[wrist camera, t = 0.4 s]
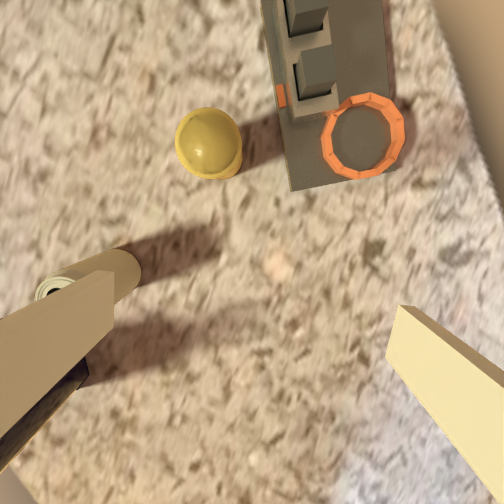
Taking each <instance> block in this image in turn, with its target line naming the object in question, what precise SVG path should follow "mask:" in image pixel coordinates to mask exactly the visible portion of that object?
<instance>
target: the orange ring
mask: <svg viewBox="0 0 504 504" xmlns="http://www.w3.org/2000/svg"><path fill="white" fill-rule="evenodd" d="M360 105H367V106H370V107H372V108H375V109H378V110H380V111H381V112H382V114H383V115H384V117H385V118H386V119H387V121H388V122H389V123H390V130H391V144H390V146H389V149H388V151H387V153H386V156H385V158H384V159H383V160H382V161H381V162H379V163H378V164H377V165H376V166H375V167H373V168H372V169H371V170H366V171H361V172H358V171H355V170H353V169H350V168H347V167H344V166H343V165H342V163H341V162H340V161H339V160H338V158H337V157H336V156H335V154H334V153H333V147H332V140H331V133H332V130H333V128H334V125H335V123H336V120H337V117H338V116H339V115H340V114H341V113H343V112H344V111H345V110H346V109H347V108H350V107H355V106H360ZM404 141H405V134H404V121H403V116H402V115H401V114H400V112H399V111H398V109H397V108H396V106H395V105H394V104H393V102H392V101H391V100H390V99H387V98H385V97H382V96H379V95H377V94H374V93H372V92H370V93H365V94H360V95H356V96H351V97H348V98H347V99H346V100H345V101H344V102H343V103H342V104H341V105H340V106H339V109H338V110H337V111H336V112H335V113H333V114H331V115H330V116H329V117H328V118H327V121H326V124H325V127H324V129H323V132H322V135H321V143H322V150H323V157H324V159H325V160H326V161H327V163H328V164H329V165H330V167H331V168H332V169H333V170H334V172H335V173H337V174H339V175H342V176H345V177H348V178H351V179H353V180H355V179H361V178H366V177H371V176H376V175H379V174H381V173H382V172H383V171H384V170H385V169H387V168H388V167H389V166H390V165H391V164H393V163H394V162H395V161H396V159H397V157H398V155H399V152H400V150H401V148H402V145H403V143H404Z"/></svg>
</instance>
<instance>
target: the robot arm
mask: <svg viewBox="0 0 504 504" xmlns="http://www.w3.org/2000/svg"><path fill="white" fill-rule="evenodd" d="M113 327H114V272H110V271H102V270H96V271H94V272H92V273H91V274H89V275H87V276H85V277H83V278H81V279H79V280H77V281H75V282H73V283H71V284H69V285H67V286H65V287H63V288H61V289H59V290H57V291H55V292H53V293H51V294H49V295H48V296H46V297H44V298H42V299H40V300H38V301H36V302H34V303H32V304H30V305H28V306H26V307H24V308H22V309H20V310H18V311H16V312H14V313H12V314H10V315H8V316H6V317H4V318H1V319H0V438H1V437H2V436H3V435H4V434H5V433H6V432H7V431H8V430H9V429H10V428H11V427H12V426H13V425H14V424H15V423H16V422H17V421H18V420H19V419H20V418H21V417H22V416H23V415H24V414H26V413H27V412H28V411H29V410H30V409H31V408H32V407H33V406H34V405H35V404H36V403H37V402H38V401H39V400H40V399H41V398H42V397H43V396H44V395H45V394H46V393H47V392H48V391H49V390H50V389H51V388H52V387H53V386H54V385H55V384H56V383H57V382H58V381H59V380H60V379H61V378H62V377H63V376H64V375H65V374H66V373H67V372H68V371H69V370H71V369H72V368H73V367H74V366H75V365H76V364H77V363H78V362H79V361H80V360H81V359H82V358H83V357H84V356H85V355H86V354H87V353H88V352H89V351H90V350H91V349H92V348H93V347H94V346H95V345H96V344H97V343H98V342H99V341H100V340H101V339H102V338H103V337H104V336H105V335H106V334H107V333H108V332H109V331H110V330H111V329H112V328H113ZM385 358H386V359H387V360H388V362H389V363H390V364H391V365H392V367H393V368H394V369H395V371H396V372H397V373H398V374H399V376H400V377H401V378H402V380H403V381H404V382H405V383H406V385H407V386H408V387H409V388H410V390H411V391H412V392H413V394H414V395H415V396H416V397H417V399H418V400H419V401H420V403H421V404H422V405H423V406H424V408H425V409H426V410H427V412H428V413H429V414H430V415H431V417H432V418H433V419H434V420H435V422H436V423H437V424H438V426H439V427H440V428H441V429H442V431H443V432H444V433H445V435H446V436H447V437H448V438H449V440H450V441H451V442H452V444H453V445H454V446H455V447H456V449H457V450H458V451H459V452H460V454H461V455H462V456H463V458H464V459H465V460H466V461H467V463H468V464H469V465H470V467H471V468H472V469H473V470H474V472H475V473H476V474H477V476H478V477H479V478H480V479H481V481H482V482H483V483H484V484H485V486H486V487H487V488H488V490H489V491H490V492H491V493H492V495H493V496H494V497H495V499H496V500H497V501H498V502H499V504H504V371H503V370H501V369H500V368H499V367H497V366H496V365H495V364H493V363H492V362H490V361H489V360H488V359H486V358H485V357H484V356H482V355H481V354H479V353H478V352H477V351H475V350H474V349H473V348H471V347H470V346H468V345H467V344H466V343H464V342H463V341H462V340H460V339H459V338H457V337H456V336H455V335H453V334H452V333H451V332H449V331H448V330H446V329H445V328H444V327H442V326H441V325H440V324H438V323H437V322H435V321H434V320H433V319H431V318H430V317H429V316H427V315H426V314H424V313H423V312H422V311H420V310H419V309H418V308H416V307H415V306H406V305H398V309H397V313H396V317H395V320H394V324H393V328H392V332H391V336H390V340H389V344H388V348H387V352H386V356H385Z"/></svg>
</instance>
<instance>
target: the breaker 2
mask: <svg viewBox="0 0 504 504" xmlns="http://www.w3.org/2000/svg"><path fill="white" fill-rule="evenodd" d="M294 75H295V82H296V89H297V95H298V101H303V100H307V99H312V98H316V97H321V96H325V95H326V94H327V93H328V92H329V90H330V89H331V88H332V86H333V85H334V84H335V82H336V81H337V80H338V79H337V71H336V62H335V54H334V46H333V44H330V45H326V46H321V47H317V48H313V49H308V50H304V51H301V52H300V55H299V58H298V62H297V65H296V68H295V71H294Z"/></svg>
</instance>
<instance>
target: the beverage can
mask: <svg viewBox="0 0 504 504" xmlns="http://www.w3.org/2000/svg"><path fill="white" fill-rule="evenodd" d="M96 270H102V271H110V272H114V305H115V304H116V303H117V302H118V301H120V300H121V299H122V298H123V297H125V296H126V295H127V294H128V293H129V292H131V291H132V290H133V289H134V288H135V287H136V286H137V285H138V283H139V281H140V278H141V268H140V265H139V263H138V261H137V260H136V259H135V257H134V256H133V255H131V254H130V253H128V252H126V251H124V250H120V249H111V250H108V251H105V252H103V253H100V254H98V255H95V256H93V257H90V258H88V259H85V260H83V261H80V262H78V263H76V264H73V265H71V266H68V267H66V268H63V269H61V270H58V271H56V272H53V273H52V274H50V275H49V276H48V277H47V278H46V279H45V281H44V282H42V283H41V284H40V285H39V287H38V288H37V290H36V293H35V302H36V301H38V300H40V299H42V298H44V297H46V296H48V295H49V294H51V293H53V292H55V291H57V290H59V289H61V288H63V287H65V286H67V285H69V284H71V283H73V282H75V281H77V280H79V279H81V278H83V277H85V276H87V275H89V274H91V273H92V272H94V271H96Z"/></svg>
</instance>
